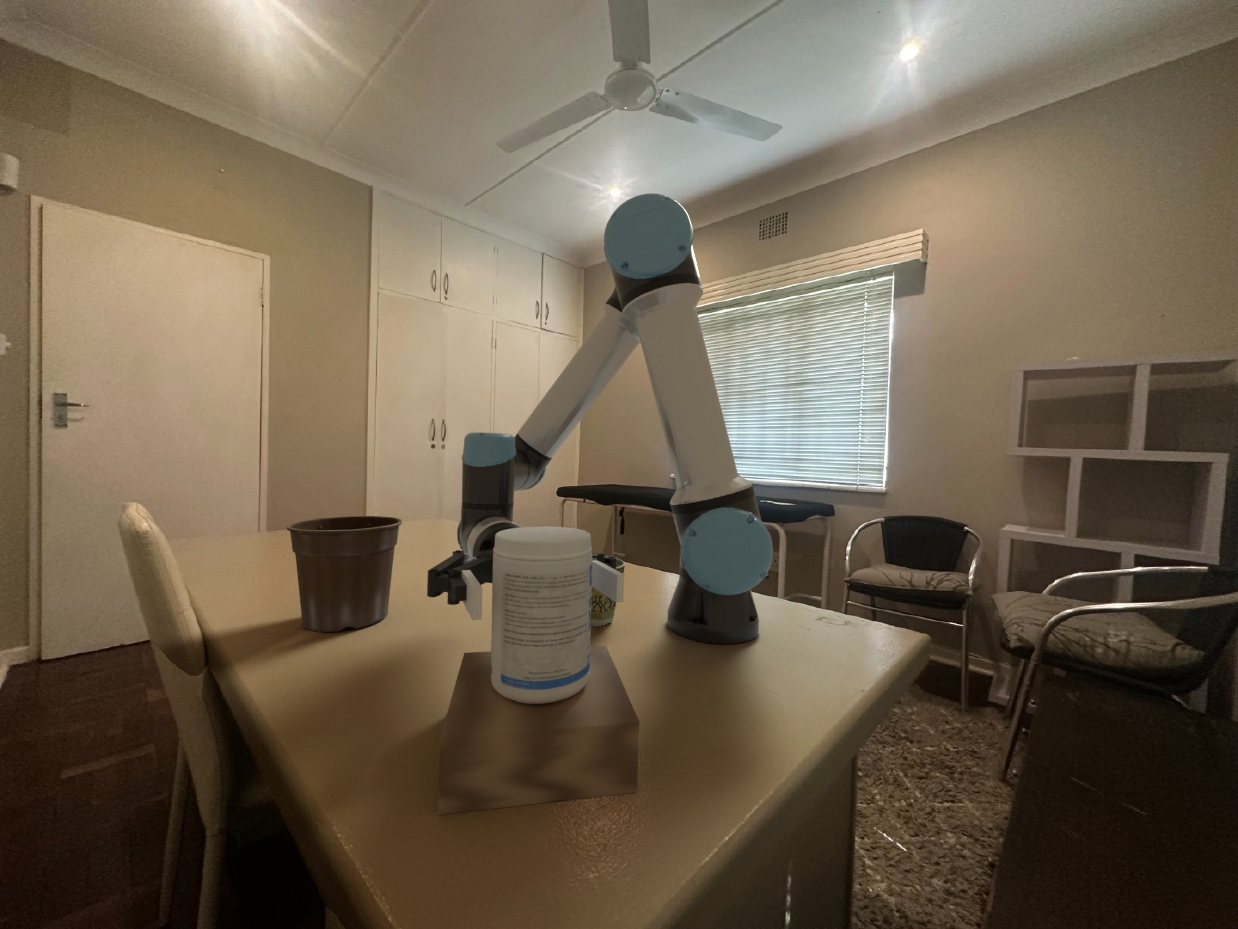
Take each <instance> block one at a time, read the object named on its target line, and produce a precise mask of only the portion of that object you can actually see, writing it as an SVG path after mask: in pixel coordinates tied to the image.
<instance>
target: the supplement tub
mask: <svg viewBox="0 0 1238 929" xmlns="http://www.w3.org/2000/svg"><path fill="white" fill-rule="evenodd" d="M592 547H593V546H592V535H591V533H590V532H588V531H587V530H583V529H580V528H575V527H574V528H573V527H563V526H562V527H561V526H524V527H523V526H522V527H521V528H512V529H507V530H503V531H500V532H498V533H496V535H495V546H494V548H493V551H494V553H493V581H492V583H491V585H492V589H491V595H492V596H491V642H490V643H491V645H490V646H491V650H490V651H491V682H492V685H493V687H494V688H495V690H496V691H497V692H498V693H499V694H500V695H502V696H504V697H506V698H508V699H511V700H514V701H517V702H521V703H527V704H544V703H551V702H556V701H560V700H563V699H566V698H568V697H570V696H572V695H574V694H576V693H577V692H579V691H580V690H581V689H582V688H583V687H584V686H585V685H586V683H587V681H588V679H589V675H590V646H591V642H592V641H591V640H592V639H591V637H592V635H591V634H592V626H591V601H592V553H593V548H592Z"/></svg>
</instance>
